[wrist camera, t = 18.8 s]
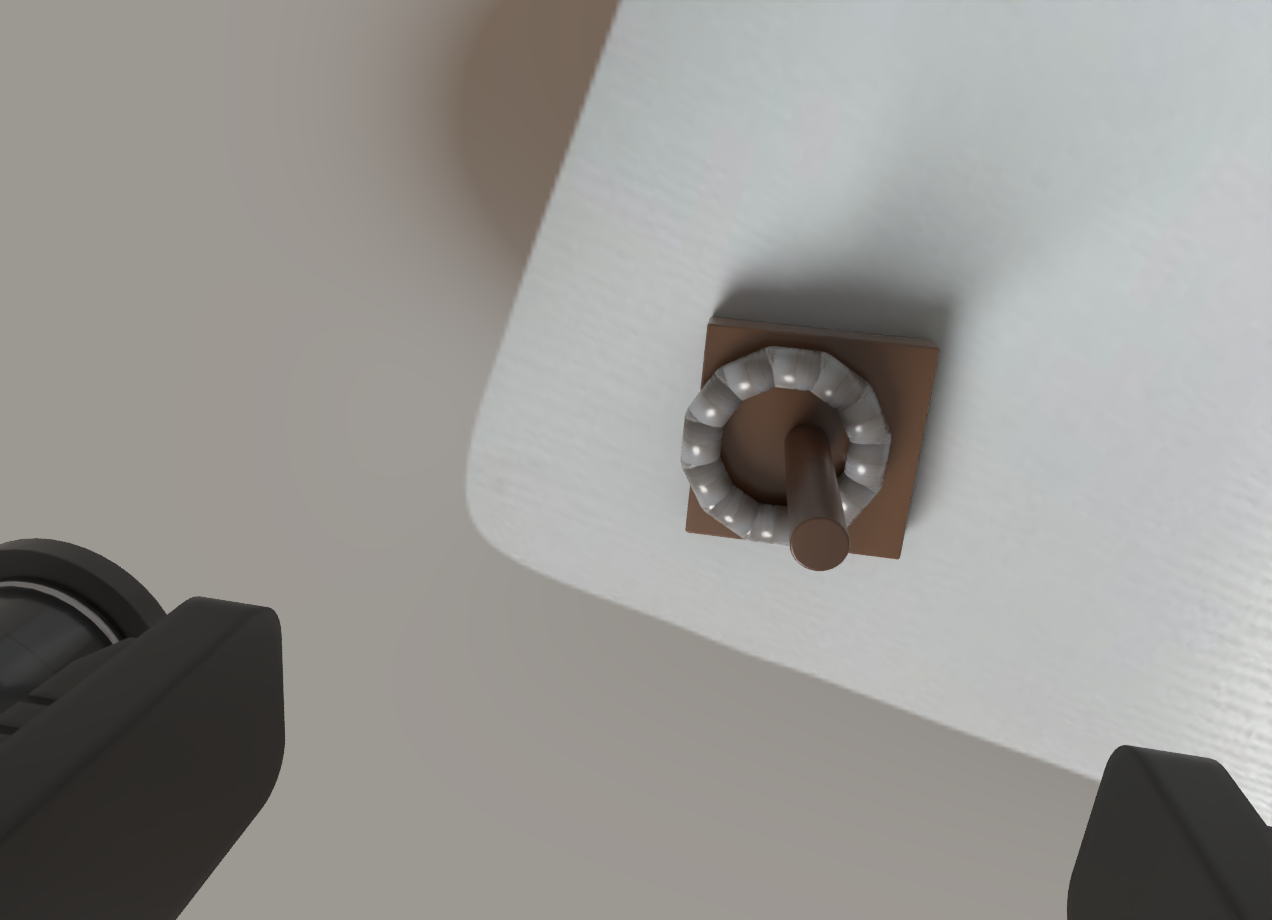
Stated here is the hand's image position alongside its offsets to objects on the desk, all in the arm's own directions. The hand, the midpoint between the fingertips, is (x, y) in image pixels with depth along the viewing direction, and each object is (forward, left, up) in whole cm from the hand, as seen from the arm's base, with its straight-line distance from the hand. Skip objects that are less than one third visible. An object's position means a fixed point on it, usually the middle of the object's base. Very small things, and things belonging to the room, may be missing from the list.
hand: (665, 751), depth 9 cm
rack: (+3, -4, -26) cm, 27 cm away
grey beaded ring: (+2, -4, -24) cm, 25 cm away
